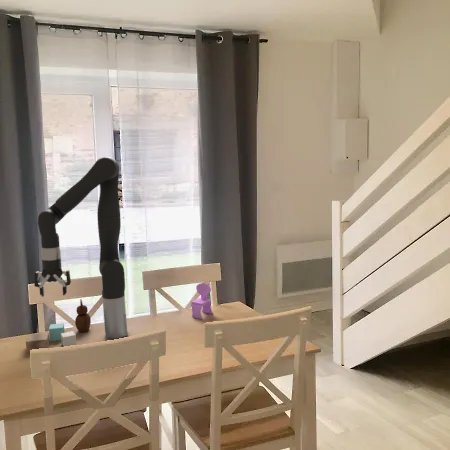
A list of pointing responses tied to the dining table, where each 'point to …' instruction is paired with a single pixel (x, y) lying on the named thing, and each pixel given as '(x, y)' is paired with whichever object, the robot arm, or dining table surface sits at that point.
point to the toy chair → (201, 301)
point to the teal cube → (56, 331)
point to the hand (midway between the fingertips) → (53, 295)
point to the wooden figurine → (82, 318)
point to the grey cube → (68, 338)
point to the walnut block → (37, 341)
